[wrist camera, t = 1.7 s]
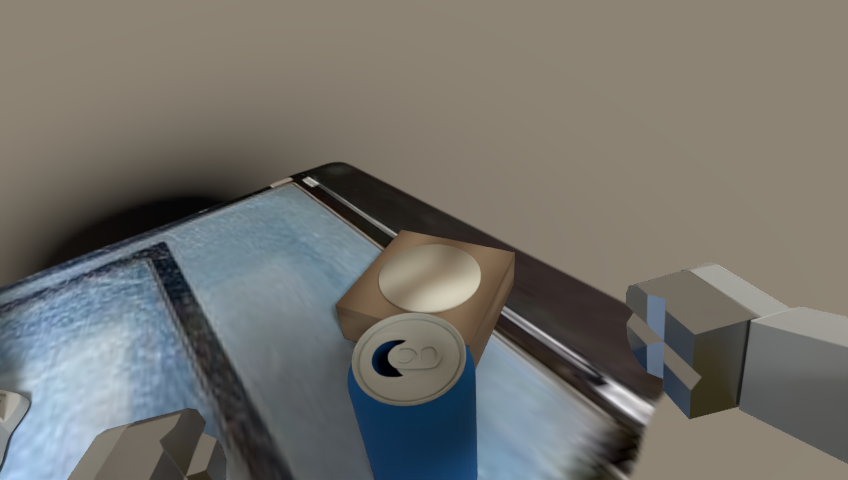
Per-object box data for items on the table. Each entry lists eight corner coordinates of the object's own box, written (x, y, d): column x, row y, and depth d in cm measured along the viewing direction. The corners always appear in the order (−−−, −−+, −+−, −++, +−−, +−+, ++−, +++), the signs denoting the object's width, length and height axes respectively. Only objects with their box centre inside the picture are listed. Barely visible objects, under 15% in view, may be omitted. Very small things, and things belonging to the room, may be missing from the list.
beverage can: (383, 430, 31) (354, 308, 24) (474, 429, 30) (471, 304, 23) (371, 532, 25) (330, 413, 19) (481, 532, 25) (480, 411, 18)
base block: (344, 337, 38) (334, 301, 36) (405, 260, 47) (401, 226, 44) (470, 380, 34) (469, 341, 31) (513, 285, 42) (515, 249, 40)
